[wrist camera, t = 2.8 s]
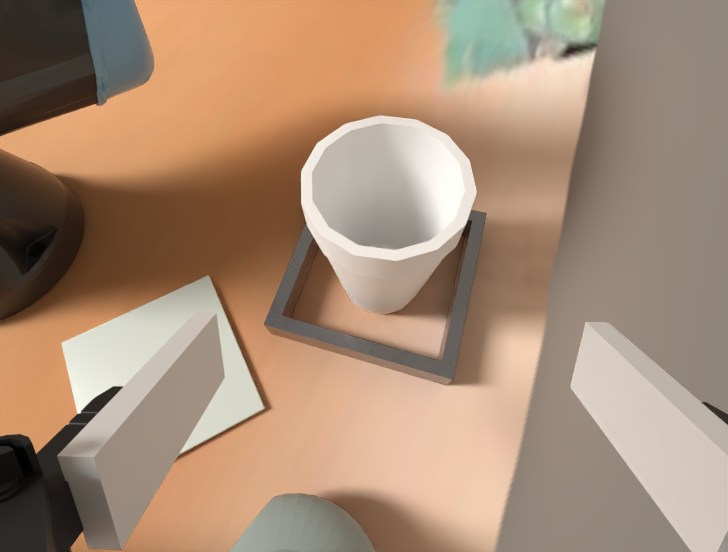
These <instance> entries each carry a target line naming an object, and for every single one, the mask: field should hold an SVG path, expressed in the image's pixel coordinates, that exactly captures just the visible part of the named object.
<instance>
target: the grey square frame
mask: <svg viewBox="0 0 728 552" xmlns="http://www.w3.org/2000/svg"><path fill="white" fill-rule="evenodd" d="M486 214H487V213H483V212H479V211H475V210H471V211H470V214H469V217H468V220H467V223H466V225H465V228H464V230H463V232H462V235H465V240H464V245H463V249H462V254H461V258H460V263H459V267H458V272H457V276H456V281H455V285H454V290H453V294H452V299H451V303H450V308H449V312H448V317H447V321H446V326H445V330H444V335H443V339H442V344H441V348H440V353H439V357H438V361H437V360H434V359H430V358H427V357H423V356H420V355H417V354H413V353H410V352H406V351H403V350H399V349H396V348H392V347H389V346H385V345H382V344H378V343H375V342H371V341H368V340H364V339H361V338H358V337H354V336H351V335H347V334H344V333H340V332H337V331H333V330H330V329H326V328H323V327H319V326H316V325H312V324H309V323H305V322H302V321H299V320H295V319H292V318H291V316H292V314H293V311H294V308H295V306H296V303H297V301H298V298H299V296H300V293H301V290H302V288H303V285H304V283H305V280H306V278H307V275H308V272H309V270H310V267H311V265H312V262H313V259H314V257H315V254H316V252H317V249H318V247H319V245H318V244H317V242H316V240H315V239H314V237H313V235H312V234H311V232H310V230H309V228H308V227H307V223H306V224H305V226H304V229H303V231H302V233H301V236H300V238H299V241H298V243H297V245H296V248H295V250H294V253H293V255H292V258H291V260H290V262H289V265H288V267H287V270H286V272H285V274H284V277H283V279H282V282H281V284H280V287H279V289H278V291H277V294H276V296H275V299H274V301H273V303H272V306H271V308H270V311H269V313H268V316H267V318H266V320H265V323H264V325H265V326H266V328H267V329H268V330H269V331H270V333H271V334H274V335H277V336H281V337H284V338H287V339H291V340H294V341H298V342H301V343H304V344H308V345H311V346H315V347H318V348H321V349H325V350H328V351H331V352H335V353H338V354H342V355H345V356H348V357H352V358H355V359H359V360H362V361H365V362H369V363H372V364H376V365H379V366H382V367H386V368H389V369H392V370H396V371H399V372H403V373H406V374H409V375H413V376H416V377H420V378H423V379H426V380H430V381H433V382H436V383H440V384H443V385H447V384H448V383H450V382H451V381H452V380H453V376H454V371H455V366H456V361H457V356H458V351H459V347H460V342H461V337H462V332H463V327H464V322H465V317H466V312H467V307H468V302H469V297H470V292H471V287H472V283H473V278H474V273H475V268H476V263H477V258H478V253H479V248H480V243H481V238H482V233H483V228H484V224H485V219H486Z"/></svg>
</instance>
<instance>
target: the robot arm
mask: <svg viewBox="0 0 728 552" xmlns="http://www.w3.org/2000/svg"><path fill="white" fill-rule="evenodd" d="M153 69H154V56H153V52H152V49H151V46H150V43H149V40H148V37H147V34H146V31H145V28H144V26H143V23H142V20H141V18H140V15H139V12H138V10H137V7H136V4H135V2H134V0H0V136H2V135H5V134H8V133H11V132H14V131H17V130H20V129H23V128H25V127H28V126H31V125H34V124H37V123H40V122H43V121H46V120H49V119H52V118H55V117H58V116H61V115H64V114H67V113H70V112H73V111H76V110H78V109H81V108H84V107H87V106H90V105H93V104H96V105H98V106H101V105H103V104H104V103H106V101H107V99H109V98H111V97H114V96H116V95H119V94H121V93H124V92H126V91H129V90H131V89H134V88H136V87H139V86H141V85H143V84H144V83H145V82H147V81H148V80H149V78H150V76H151V74H152V72H153ZM83 229H84V217H83V211H82V208H81V205H80V203H79V200H78V199H77V197H76V196H75V194H74V193H73V192H72V191H71V190H70V189H69V188H68V187H67V186H66V185H65V184H63V183H62V182H61V181H60V180H59V179H58V178H57V177H55V176H54V175H53V174H52V173H50V172H49V171H47V170H46V169H44V168H42V167H41V166H38V165H36V164H34V163H32V162H28V161H26V160H24V159H22V158H20V157H17V156H15V155H13V154H11V153H9V152H6V151H4V150H2V149H0V319H2V318H5V317H7V316H10V315H12V314H14V313H16V312H18V311H19V310H21V309H23V308H25V307H26V306H28V305H30V304H31V303H32V302H34V301H35V300H37V299H38V298H39V297H41V296H42V295H43V294H44V293H45V292H47V291H48V290H49V289H50V288H51V287H52V286H53V285H54V284H55V283H56V282H57V281H58V280H59V279H60V277H61V276H62V275H63V274H64V272H65V271H66V270H67V268H68V267H69V265H70V264H71V262H72V261H73V259H74V257H75V255H76V253H77V251H78V248H79V246H80V243H81V239H82V235H83ZM224 378H225V373H224V365H223V358H222V350H221V343H220V335H219V328H218V320H217V313H211V312H195V313H194V314H193V315H192V316H191V317H190V318H189V319H188V320H187V321H186V322H185V323H184V324H183V326H182V327H181V328H180V329H179V330H178V331H177V332H176V333H175V334H174V335H173V336H172V337H171V338H170V339H169V340H168V341H167V342H166V343H165V344H164V345H163V346H162V347H161V348H160V349H159V350H158V351H157V353H156V354H155V355H154V356H153V357H152V358H151V359H150V360H149V361H148V362H147V363H146V364H145V365H144V366H143V367H142V368H141V369H140V370H139V371H138V372H137V373H136V374H135V375H134V376H133V377H132V378H131V380H130V381H129V382H128V383H127V384H126V385H125V386H113V387H111V388H110V389H108V390H106V391H105V392H103V393H101V394H100V395H98V396H96V397H95V398H94V399H93V400H92V401H91V402H89V403H88V404H87V405H86V406H85V407H84V408H83V409H82V410H81V413H78V414H77V415H76V416H75V417H74V418H73V419H72V420H71V421H70V423H69V425H66V426H65V427H64V428H63V429H62V430H61V431H60V432H59V433H58V434H56V435H55V436H54V437H53V438H52V439H51V440H50V441H49V442H48V443H47V444H46V445H45V446H44V447H43V448H42V449H41V450H40V451H39V452H38V453H37V454H36V453H35V450H34V447H33V445H32V442H31V440H30V439H29V437H27V436H24V435H21V434H17V435H5V436H1V437H0V552H72V551H71V549H70V548H71V546H72V545H73V543H74V542H75V541H76V539H77V538H78V537H79V535H80V534H81V532H82V531H83V534H84V537H85V539H86V542H87V545H88V548H89V549H106V550H122V549H123V547H124V545H125V544H126V542H127V540H128V539H129V537H130V535H131V534H132V532H133V530H134V529H135V527H136V525H137V524H138V522H139V520H140V519H141V517H142V515H143V514H144V512H145V510H146V509H147V507H148V505H149V504H150V502H151V500H152V499H153V497H154V495H155V494H156V492H157V490H158V489H159V487H160V485H161V484H162V482H163V480H164V478H165V477H166V475H167V473H168V472H169V470H170V468H171V467H172V465H173V463H174V462H175V460H176V458H177V457H178V455H179V453H180V452H181V450H182V448H183V447H184V445H185V443H186V442H187V440H188V438H189V437H190V435H191V433H192V432H193V430H194V428H195V427H196V425H197V423H198V422H199V420H200V418H201V417H202V415H203V413H204V412H205V410H206V408H207V407H208V405H209V403H210V402H211V400H212V398H213V397H214V395H215V393H216V392H217V390H218V388H219V387H220V385H221V383H222V382H223V380H224ZM571 389H572V390H573V391H574V393H575V394H576V396H577V397H578V398H579V400H580V401H581V402H582V404H583V405H584V406H585V408H586V409H587V410H588V412H589V413H590V414H591V416H592V417H593V419H594V420H595V421H596V423H597V424H598V425H599V427H600V428H601V430H602V431H603V432H604V434H605V435H606V436H607V438H608V439H609V440H610V442H611V443H612V444H613V446H614V447H615V449H616V450H617V451H618V453H619V454H620V455H621V457H622V458H623V459H624V461H625V462H626V463H627V465H628V466H629V468H630V469H631V470H632V472H633V473H634V474H635V476H636V477H637V478H638V480H639V481H640V483H641V484H642V485H643V487H644V488H645V489H646V491H647V492H648V493H649V494H650V496H651V497H652V499H653V500H654V502H655V503H656V504H657V506H658V507H659V508H660V510H661V511H662V512H663V514H664V515H665V516H666V518H667V519H668V520H669V522H670V523H671V525H672V526H673V527H674V529H675V530H676V531H677V533H678V534H679V536H680V537H681V538H682V539H683V541H684V542H685V544H686V545H687V546H688V548H689V549H690V550H691V552H728V414H726V413H724V412H723V411H721V410H719V409H717V408H715V407H714V406H712V405H710V404H708V403H707V402H700V401H699V400H698V399H697V398H695V397H694V396H693V395H692V394H691V393H690V392H688V391H687V390H686V389H685V388H684V387H683V386H681V385H680V384H679V383H678V382H677V381H676V380H674V379H673V378H672V377H671V376H670V375H669V374H667V373H666V372H665V371H664V370H663V369H662V368H660V367H659V366H658V365H657V364H656V363H655V362H653V361H652V360H651V359H650V358H648V356H646V355H645V354H644V353H643V352H642V351H641V350H639V349H638V348H637V347H636V346H635V345H634V344H632V343H631V342H630V341H629V340H628V339H627V338H625V337H624V336H623V335H622V334H621V333H620V332H619V331H617V330H616V329H615V328H614V327H613V326H611V325H610V324H609V323H608V322H586V323H585V328H584V332H583V336H582V340H581V344H580V349H579V353H578V357H577V361H576V365H575V370H574V374H573V378H572V382H571Z"/></svg>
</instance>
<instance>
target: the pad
mask: <svg viewBox="0 0 728 552" xmlns="http://www.w3.org/2000/svg"><path fill="white" fill-rule="evenodd" d="M195 312H211V313H217V320H218V328H219V335H220V343H221V350H222V358H223V365H224V373H225V378H224V380H223V382H222V383H221V385H220V387H219V388H218V390H217V392H216V393H215V395H214V397H213V398H212V400H211V402H210V403H209V405H208V407H207V408H206V410H205V412H204V413H203V415H202V417H201V418H200V420H199V422H198V423H197V425H196V427H195V428H194V430H193V432H192V433H191V435H190V437H189V438H188V440H187V442H186V443H185V445H184V447H183V448H182V450H181V452H180V453H179V455H181V454H183V453H185V452H187V451H188V450H190V449H192V448H194V447H196V446H198V445H200V444H201V443H203V442H205V441H207V440H209V439H211V438H212V437H214V436H216V435H218V434H220V433H222V432H224V431H225V430H227V429H229V428H231V427H233V426H235V425H236V424H238V423H240V422H242V421H244V420H246V419H248V418H249V417H251V416H253V415H255V414H257V413H259V412H260V411H262V410H264V409H265V406H264V404H263V402H262V399H261V397H260V394H259V392H258V390H257V387H256V385H255V383H254V380H253V378H252V375H251V373H250V371H249V368H248V366H247V363H246V361H245V359H244V356H243V354H242V352H241V349H240V347H239V344H238V342H237V340H236V337H235V335H234V332H233V330H232V328H231V325H230V323H229V320H228V318H227V316H226V313H225V311H224V309H223V306H222V304H221V301H220V299H219V297H218V294H217V292H216V289H215V287H214V285H213V282H212V280H211V278H210V276H209V275H208V276H206V277H203V278H201V279H199V280H197V281H195V282H193V283H190V284H188V285H186V286H184V287H182V288H180V289H177V290H175V291H173V292H171V293H169V294H167V295H164V296H162V297H160V298H158V299H156V300H154V301H151V302H149V303H147V304H145V305H143V306H140V307H138V308H136V309H134V310H132V311H130V312H127V313H125V314H123V315H121V316H119V317H117V318H114V319H112V320H110V321H108V322H106V323H104V324H101V325H99V326H97V327H95V328H93V329H91V330H88V331H86V332H84V333H82V334H80V335H78V336H75V337H73V338H71V339H69V340H67V341H65V342H62V343H61V344H62V348H63V352H64V357H65V361H66V365H67V370H68V374H69V378H70V382H71V387H72V391H73V395H74V400H75V404H76V408H77V413H81V410H82V409H83V408H84V407H85V406H86V405H87V404H88V403H89V402H91V401H92V400H93V399H94V398H95V397H96V396H98V395H100V394H101V393H103V392H105V391H106V390H108V389H110V388H111V387H113V386H125V385H126V384H127V383H128V382H129V381H130V380H131V378H132V377H133V376H134V375H135V374H136V373H137V372H138V371H139V370H140V369H141V368H142V367H143V366H144V365H145V364H146V363H147V362H148V361H149V360H150V359H151V358H152V357H153V356H154V355H155V354H156V353H157V351H158V350H159V349H160V348H161V347H162V346H163V345H164V344H165V343H166V342H167V341H168V340H169V339H170V338H171V337H172V336H173V335H174V334H175V333H176V332H177V331H178V330H179V329H180V328H181V327H182V326H183V324H184V323H185V322H186V321H187V320H188V319H189V318H190V317H191V316H192V315H193V314H194V313H195ZM179 455H178V456H179Z"/></svg>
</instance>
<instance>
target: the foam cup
mask: <svg viewBox="0 0 728 552" xmlns="http://www.w3.org/2000/svg"><path fill="white" fill-rule="evenodd" d="M476 194H477V191H476V186H475V182H474V177H473V173H472V168H471V164H470V160H469V159H468V158H467V157H466V156H465V154H464V153H463V152H462V151H461V150H460V149H459V147H458V146H457V145H456V144H455V143H454V142H453V140H452V139H451V138H450V137H449V136H448V135H447V134H445V133H443V132H441V131H439V130H437V129H435V128H433V127H431V126H429V125H427V124H425V123H423V122H421V121H418V120H416V119H409V118H399V117H390V116H381V115H380V116H375V117H371V118H367V119H363V120H358V121H354V122H350V123H346V124H344V125H343V126H341V127H340V128H338V129H337V130H335V131H334V132H332V133H331V134H329V135H328V136H327V137H325V138H324V139H322V140H321V141H319V142H318V143H317V144H316V146H315V148H314V149H313V151H312V153H311V155H310V156H309V158H308V160H307V162H306V163H305V165H304V167H303V169H302V170H301V205H302V208H303V212H304V216H305V219H306V223H307V227H308V228H309V230H310V232H311V234H312V235H313V237H314V239H315V240H316V242H317V244H318V245H319V247H320V249H321V250H322V252H323V254H324V255H325V256H326V257H328V259H329V261H330V263H331V265H332V267H333V269H334V271H335V273H336V275H337V276H338V278H339V280H340V282H341V284H342V286H343V288H344V289H345V291H346V293H347V294H348V296H349V298H350V299H351V301H352V303H354V304H355V305H357V306H358V307H360V308H361V309H363V310H364V311H366V312H369V313H376V314H383V315H385V314H388V313H392V312H395V311H399V310H401V309H402V308H404V307H405V306H406V305H407V304H408V303H409V302H410V301H411V300H412V299H413V298H414V297H415V296H416V295H417V293H418V292H419V291H420V289H421V288H422V287H423V285H424V284H425V283H426V281H427V280H428V278H429V277H430V276H431V274H432V273H433V272H434V270H435V269H436V268H437V266H438V265H439V264H440V262H441V261H442V260H443V258H444V257H445V256H446V255H448V254H449V253H450V252H451V251H452V250H453V249H454V248H455V247H456V246H457V244H458V242H459V240H460V237H461V235H462V232H463V230H464V228H465V225H466V223H467V220H468V217H469V214H470V211H471V208H472V205H473V202H474V199H475V197H476Z"/></svg>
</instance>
